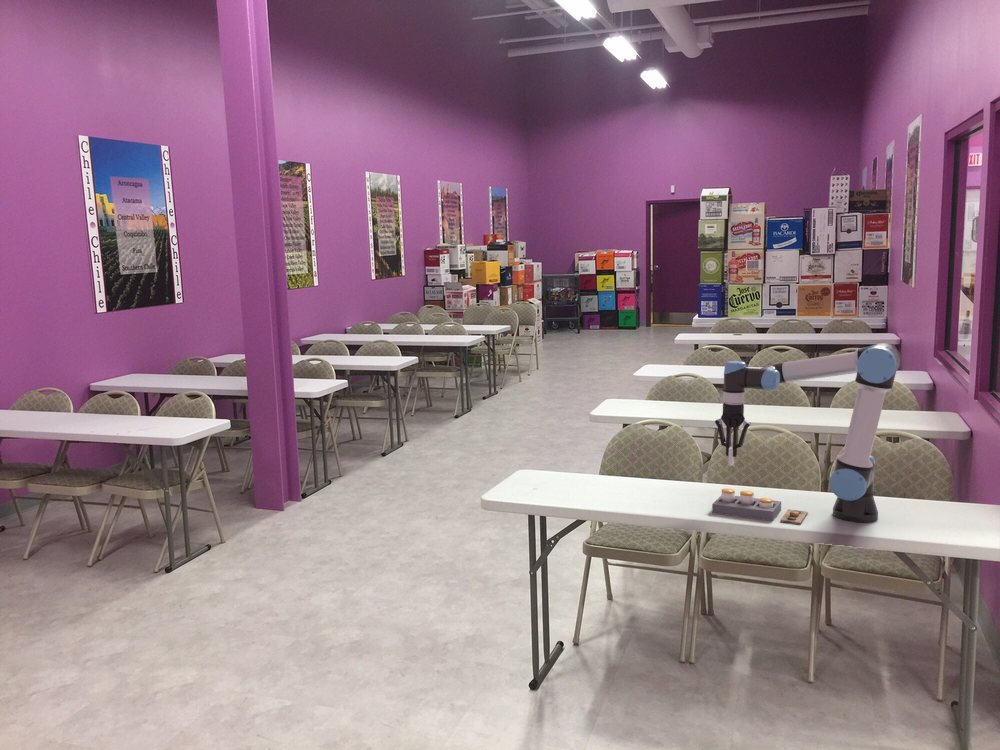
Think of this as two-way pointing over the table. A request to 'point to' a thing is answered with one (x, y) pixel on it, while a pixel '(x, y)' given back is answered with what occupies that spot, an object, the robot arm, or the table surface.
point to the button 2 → (766, 502)
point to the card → (794, 516)
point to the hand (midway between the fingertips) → (731, 464)
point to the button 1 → (728, 495)
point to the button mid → (747, 498)
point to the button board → (746, 509)
